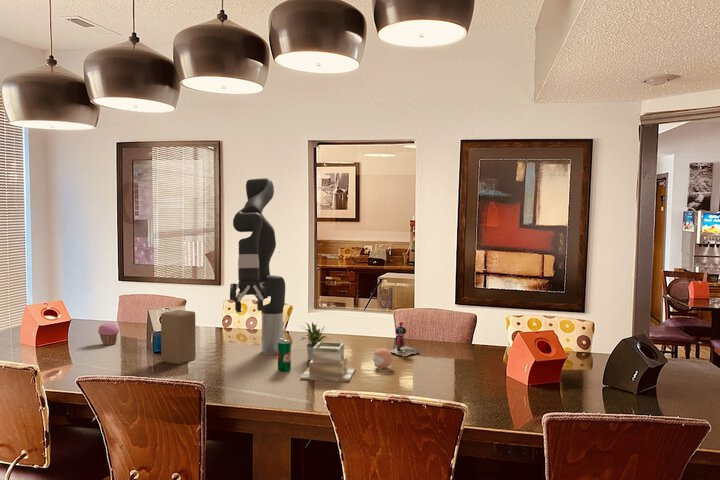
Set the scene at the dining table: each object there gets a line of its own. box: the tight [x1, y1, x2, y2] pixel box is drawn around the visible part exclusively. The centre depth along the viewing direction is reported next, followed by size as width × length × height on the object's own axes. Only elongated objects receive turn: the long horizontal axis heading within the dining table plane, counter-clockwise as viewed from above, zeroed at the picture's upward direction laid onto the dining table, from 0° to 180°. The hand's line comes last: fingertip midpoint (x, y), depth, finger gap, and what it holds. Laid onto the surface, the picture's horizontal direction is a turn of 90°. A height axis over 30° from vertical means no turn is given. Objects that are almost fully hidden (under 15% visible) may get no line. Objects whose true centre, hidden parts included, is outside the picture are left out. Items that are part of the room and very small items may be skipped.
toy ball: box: [372, 347, 393, 369], centre depth 218 cm, size 8×8×8 cm
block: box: [160, 309, 197, 365], centre depth 227 cm, size 10×10×20 cm
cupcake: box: [97, 322, 120, 346], centre depth 254 cm, size 9×9×10 cm
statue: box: [389, 320, 421, 356], centre depth 241 cm, size 11×9×15 cm
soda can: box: [277, 337, 292, 373], centre depth 215 cm, size 5×5×12 cm
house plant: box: [297, 321, 330, 361], centre depth 230 cm, size 14×14×16 cm
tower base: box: [300, 341, 356, 382], centre depth 209 cm, size 15×18×11 cm
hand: (249, 311), depth 204 cm, fingers open, 8 cm apart
